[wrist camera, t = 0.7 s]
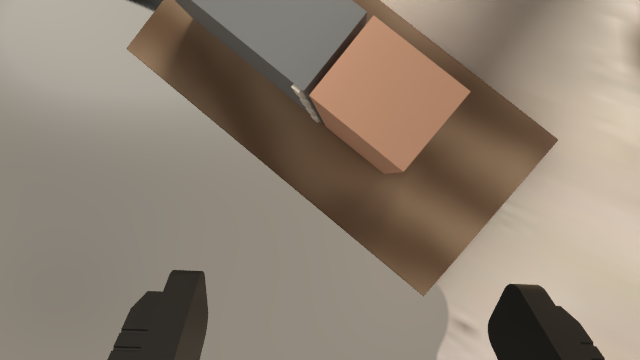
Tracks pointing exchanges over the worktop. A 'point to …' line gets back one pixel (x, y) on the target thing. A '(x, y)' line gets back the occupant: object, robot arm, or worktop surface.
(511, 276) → the worktop surface
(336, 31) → the charcoal ticket block
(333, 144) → the walnut board
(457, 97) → the terracotta stub
